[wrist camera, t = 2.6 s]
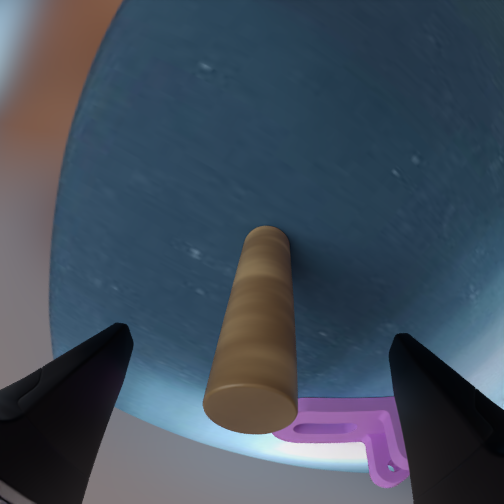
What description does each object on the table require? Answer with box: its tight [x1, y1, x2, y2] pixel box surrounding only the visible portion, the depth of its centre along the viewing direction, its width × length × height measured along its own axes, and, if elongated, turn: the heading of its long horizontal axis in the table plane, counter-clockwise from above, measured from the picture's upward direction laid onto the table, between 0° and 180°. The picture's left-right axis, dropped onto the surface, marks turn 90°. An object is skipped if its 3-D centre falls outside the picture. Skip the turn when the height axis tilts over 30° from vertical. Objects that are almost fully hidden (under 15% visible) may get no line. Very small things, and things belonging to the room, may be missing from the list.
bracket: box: [272, 397, 410, 488], centre depth 19 cm, size 13×6×7 cm, turn 85°
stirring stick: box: [203, 226, 298, 434], centre depth 11 cm, size 2×2×10 cm
